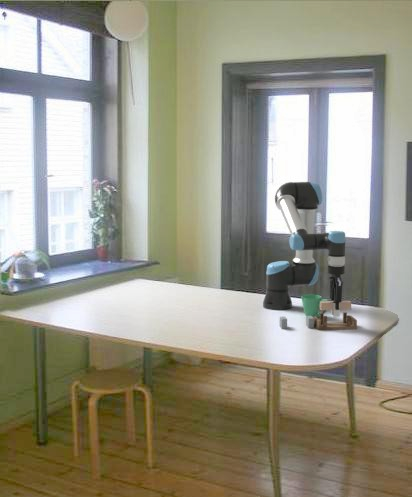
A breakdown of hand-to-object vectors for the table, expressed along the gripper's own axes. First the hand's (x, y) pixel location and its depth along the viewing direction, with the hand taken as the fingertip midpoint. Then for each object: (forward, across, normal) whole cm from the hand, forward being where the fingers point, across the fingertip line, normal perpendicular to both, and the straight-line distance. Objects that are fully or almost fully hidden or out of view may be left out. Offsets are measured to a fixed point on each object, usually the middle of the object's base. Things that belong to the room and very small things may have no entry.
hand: (335, 315), depth 331 cm
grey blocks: (+6, -2, -18) cm, 18 cm away
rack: (+6, 0, 0) cm, 6 cm away
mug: (+6, -20, -4) cm, 21 cm away
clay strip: (-3, 0, 0) cm, 3 cm away
